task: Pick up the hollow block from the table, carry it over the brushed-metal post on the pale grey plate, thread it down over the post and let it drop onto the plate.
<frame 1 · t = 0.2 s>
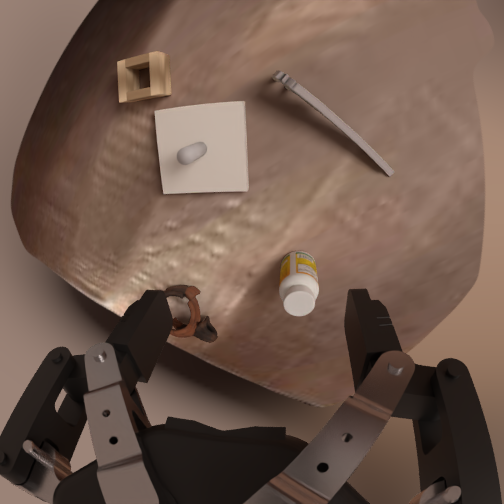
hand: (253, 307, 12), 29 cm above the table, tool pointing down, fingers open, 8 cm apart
post: (202, 147, 37), on the table
caliper: (337, 124, 34), on the table
supplement bottle: (297, 264, 44), on the table
brown curved piece: (192, 306, 50), on the table
hollow block: (150, 78, 32), on the table
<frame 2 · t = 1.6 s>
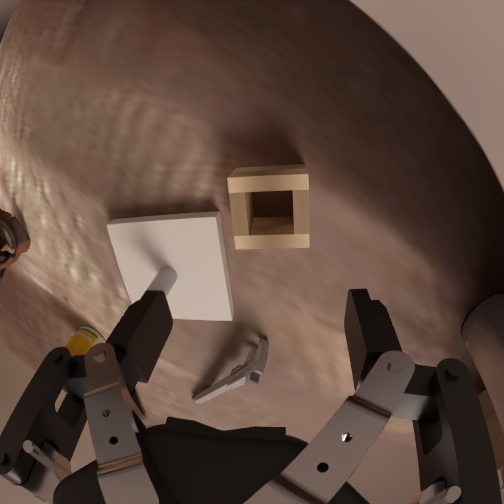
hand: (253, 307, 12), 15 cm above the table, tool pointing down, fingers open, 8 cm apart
binoculars: (466, 409, 41), on the table
post: (173, 267, 30), on the table
caliper: (224, 372, 39), on the table
supplement bottle: (93, 336, 39), on the table
brown curved piece: (14, 233, 32), on the table
hollow block: (272, 198, 25), on the table
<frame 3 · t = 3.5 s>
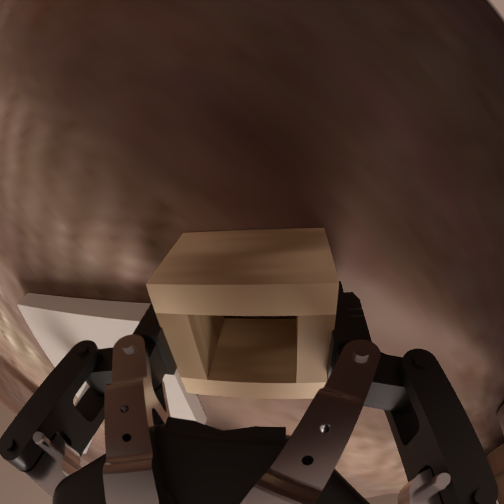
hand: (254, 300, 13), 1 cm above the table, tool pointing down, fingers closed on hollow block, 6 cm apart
binoculars: (481, 459, 29), on the table
post: (114, 363, 18), on the table
hollow block: (257, 289, 13), on the table, touching gripper
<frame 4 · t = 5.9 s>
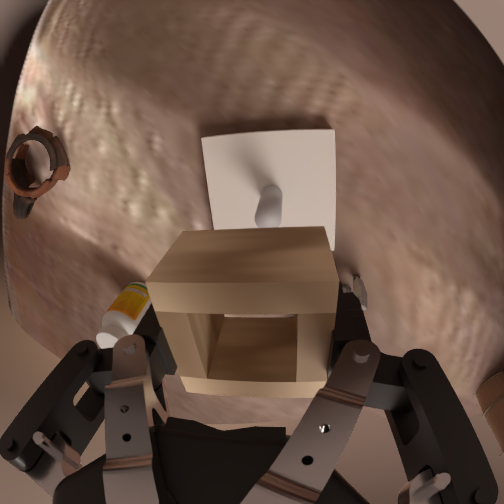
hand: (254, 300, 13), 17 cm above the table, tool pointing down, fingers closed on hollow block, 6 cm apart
post: (272, 190, 28), on the table
caliper: (303, 327, 36), on the table
supplement bottle: (143, 295, 37), on the table
brown curved piece: (47, 166, 29), on the table
hollow block: (257, 288, 13), point 17 cm above the table, touching gripper
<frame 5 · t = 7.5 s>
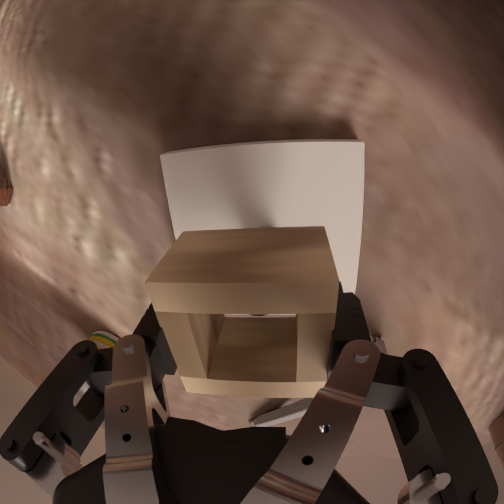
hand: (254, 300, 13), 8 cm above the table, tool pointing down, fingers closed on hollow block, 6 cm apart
post: (267, 230, 19), on the table
caliper: (305, 387, 28), on the table
supplement bottle: (112, 345, 28), on the table
hollow block: (257, 288, 13), point 7 cm above the table, touching gripper
when the fingers open (5 cm above the table, at t = 8.7 s): hollow block drops 2 cm, resting on post.
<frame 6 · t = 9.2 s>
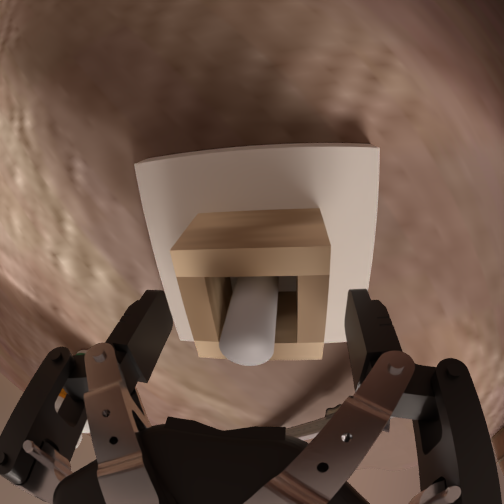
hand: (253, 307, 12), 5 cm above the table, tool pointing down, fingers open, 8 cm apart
post: (262, 251, 17), on the table
caliper: (304, 410, 25), on the table
hollow block: (261, 264, 15), point 1 cm above the table, touching post
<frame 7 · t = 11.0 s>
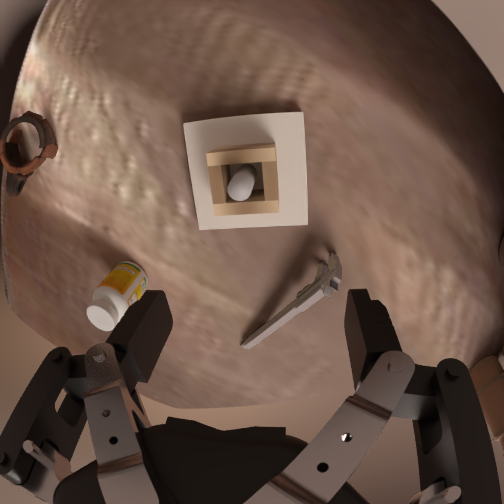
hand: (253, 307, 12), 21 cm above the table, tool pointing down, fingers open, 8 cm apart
binoculars: (499, 354, 41), on the table
post: (248, 170, 30), on the table
caliper: (283, 304, 38), on the table
supplement bottle: (132, 275, 38), on the table
brown curved piece: (38, 148, 30), on the table
hollow block: (247, 173, 29), point 1 cm above the table, touching post
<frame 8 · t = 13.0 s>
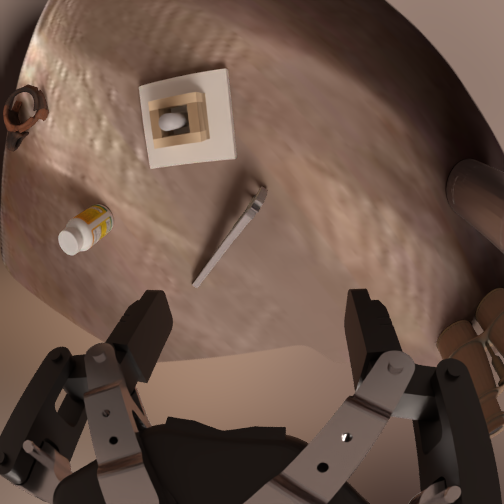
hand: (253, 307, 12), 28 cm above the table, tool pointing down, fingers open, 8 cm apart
binoculars: (473, 321, 45), on the table
post: (188, 118, 35), on the table
caliper: (226, 240, 43), on the table
supplement bottle: (102, 217, 43), on the table
brown curved piece: (33, 115, 35), on the table
hollow block: (185, 119, 33), point 1 cm above the table, touching post
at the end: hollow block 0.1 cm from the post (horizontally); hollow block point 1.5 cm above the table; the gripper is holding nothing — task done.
